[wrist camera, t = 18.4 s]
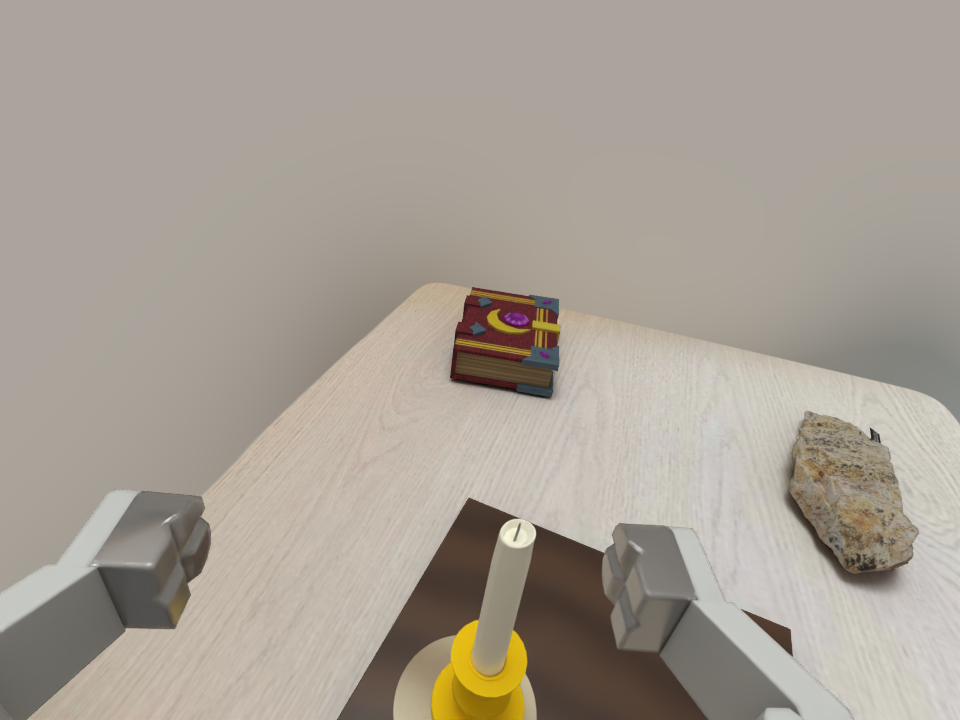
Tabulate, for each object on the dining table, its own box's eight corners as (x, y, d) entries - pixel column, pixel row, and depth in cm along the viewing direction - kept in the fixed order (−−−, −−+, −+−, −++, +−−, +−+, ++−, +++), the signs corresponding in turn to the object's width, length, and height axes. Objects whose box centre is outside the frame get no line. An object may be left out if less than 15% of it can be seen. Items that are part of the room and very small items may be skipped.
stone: (954, 578, 37) (831, 477, 40) (873, 616, 41) (764, 522, 43) (917, 444, 54) (831, 378, 56) (861, 480, 58) (783, 417, 60)
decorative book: (447, 382, 57) (451, 342, 55) (468, 311, 71) (472, 277, 68) (551, 399, 57) (561, 361, 54) (553, 325, 70) (560, 291, 68)
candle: (422, 751, 28) (445, 569, 19) (439, 651, 32) (464, 465, 24) (521, 768, 28) (590, 593, 19) (525, 665, 32) (582, 484, 23)
